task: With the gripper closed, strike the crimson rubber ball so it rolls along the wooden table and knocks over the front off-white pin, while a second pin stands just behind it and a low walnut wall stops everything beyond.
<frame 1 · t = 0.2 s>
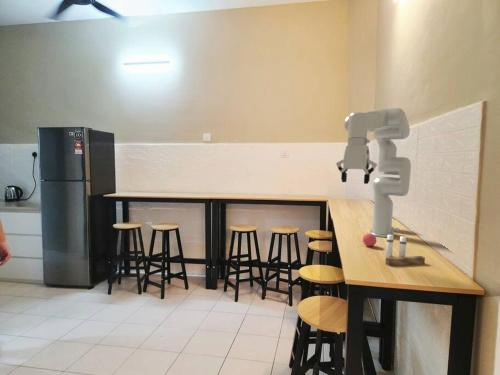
hand: (354, 182, 135), 31 cm above the table, tool pointing down, fingers open, 9 cm apart
front pin: (389, 255, 134), on the table
ball: (369, 239, 148), on the table
rear pin: (401, 258, 131), on the table
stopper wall: (405, 263, 124), on the table
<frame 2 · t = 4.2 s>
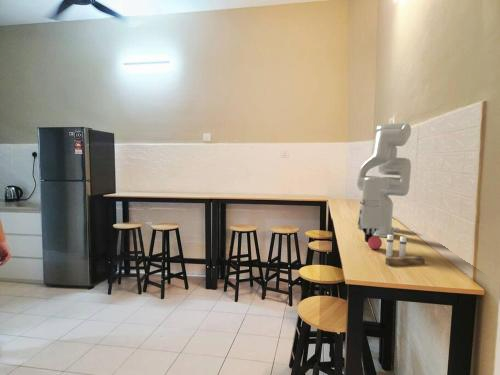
hand: (368, 242, 148), 2 cm above the table, tool pointing down, fingers closed
ball: (374, 242, 144), on the table
everything else where it was.
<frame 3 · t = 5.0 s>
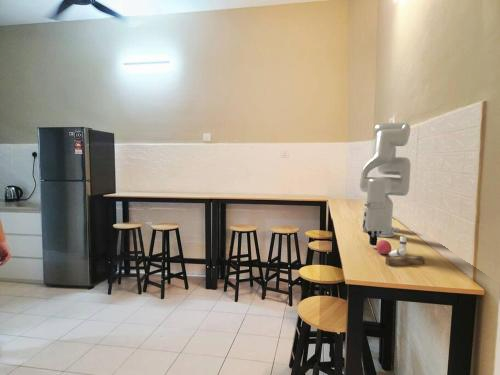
hand: (373, 244, 146), 2 cm above the table, tool pointing down, fingers closed
front pin: (391, 254, 133), point 1 cm above the table, tilted 65°
ball: (383, 247, 136), on the table
everything else where it was.
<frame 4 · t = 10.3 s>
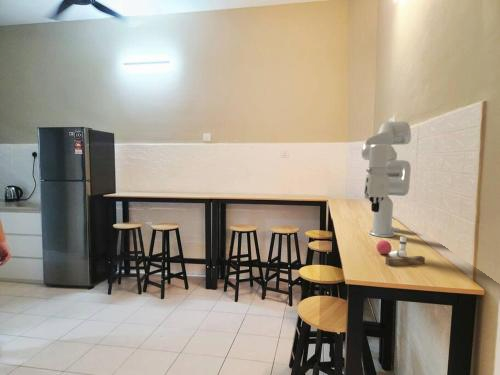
hand: (375, 211, 144), 17 cm above the table, tool pointing down, fingers closed
front pin: (391, 254, 133), point 1 cm above the table, tilted 71°, touching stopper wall
everything else where it was.
at the end: front pin tilted 71°; front pin never touched the robot; ball moved 12.3 cm from its start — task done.
